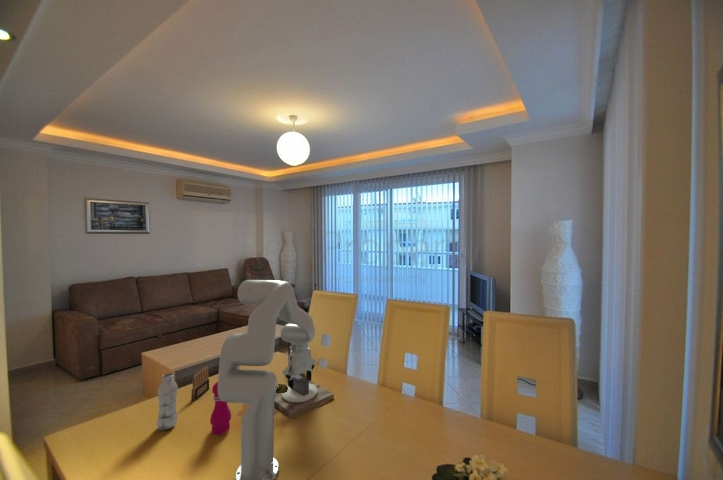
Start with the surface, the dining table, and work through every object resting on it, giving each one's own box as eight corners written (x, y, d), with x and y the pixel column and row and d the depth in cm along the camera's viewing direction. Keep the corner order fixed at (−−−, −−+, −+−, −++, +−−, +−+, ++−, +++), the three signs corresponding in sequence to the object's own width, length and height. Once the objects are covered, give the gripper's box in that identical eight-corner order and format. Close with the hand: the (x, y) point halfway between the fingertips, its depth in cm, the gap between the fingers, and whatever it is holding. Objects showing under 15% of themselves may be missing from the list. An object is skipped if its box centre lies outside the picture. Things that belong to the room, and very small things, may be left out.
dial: (324, 393, 136) (324, 378, 136) (294, 407, 124) (294, 390, 124) (304, 381, 147) (304, 367, 147) (274, 393, 135) (275, 377, 135)
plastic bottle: (152, 429, 112) (153, 377, 112) (171, 420, 118) (171, 370, 118) (162, 434, 109) (163, 380, 109) (181, 424, 115) (181, 373, 115)
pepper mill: (222, 437, 108) (223, 382, 108) (205, 434, 110) (206, 380, 110) (235, 425, 115) (235, 373, 116) (218, 422, 117) (219, 372, 117)
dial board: (333, 398, 136) (333, 393, 136) (291, 418, 120) (291, 412, 120) (305, 382, 151) (305, 377, 151) (265, 398, 135) (265, 393, 135)
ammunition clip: (205, 389, 143) (205, 364, 143) (209, 389, 143) (209, 364, 143) (191, 400, 133) (191, 374, 133) (195, 401, 132) (195, 374, 133)
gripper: (287, 354, 127) (287, 393, 127) (320, 343, 139) (320, 380, 139) (278, 349, 132) (278, 387, 132) (310, 339, 144) (310, 374, 145)
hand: (299, 383), depth 136 cm, fingers open, 9 cm apart
